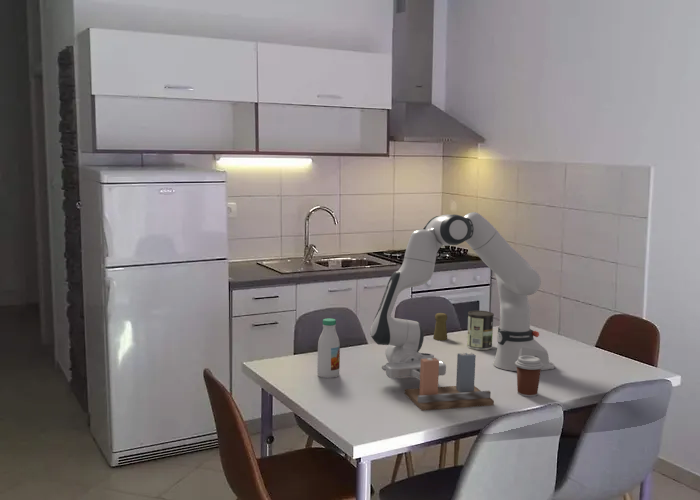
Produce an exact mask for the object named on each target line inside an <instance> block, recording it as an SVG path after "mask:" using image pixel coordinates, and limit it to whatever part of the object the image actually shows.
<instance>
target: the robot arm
mask: <svg viewBox="0 0 700 500" xmlns="http://www.w3.org/2000/svg"><path fill="white" fill-rule="evenodd" d="M464 242H466V244H467V245H468V246H469V248H471V249H472V250H473V252H475V254H476V255H477V256H478V258H479V259H480V260H482V262H483V263H484V264H485V265H486V266H487V267H488V268H489V269H490V270H491V271H492V272H493V273H494V276H495V277H494V278H495V279H496V282H497V284H496V285H497V291H498V300H499V326H498V327H497V329H498V330H497V347H496V353H495V357H494V360H493V362H492V365H493V366H494V367H496V368H498V369H501V370H506V371H512V372H513V371H514V372H517V367H516V366H515V362H516V361H517V360H518V358H519V357H520V356H534V357H538V358H539V359H540V362H541V363H542V364H543V368H542V369H541V371H547V370H554V369H555V366H556V365H555V364H554V362H553V361H550V359H549V353H548V351H547V349H546V348H545V347H544V346H543V345H542V344H541V343H539V342H538V341H537V340H536V339H535V338H538V337H539V336H540V332H539V331H537V330H533V329H531V313H532V310H531V309H532V307H531V306H530V303H529V298H528V296H530V295H534V294H535V293H536V292H538V291H539V290H540V287H541V283H542V279H541V276H540V274H539V272H537V270H536V269H534V267H533V266H532V265H531V264H530V263H529V262H528V261H527V260H526V259H525V257H523V256H522V255H520V253H519V252H518V251H516V249H515V248H513V247H512V246H511V244H510V243H509V242H508V241H507V240H506V239H505V238H504V237H503V235H501V233H500V232H499V231H498V230H497V229H496V227H494V225H493V224H492V223H490V221H489V220H487V219H486V218H485V217H484V216H482V214H480V213H478V212H476V211H475V212H474V211H472V212H469V213H466V214H465V215H464V216H463V215H459V214H450V213H449V214H448V213H447V214H442V215H436V216H434V217H432V218H430V219H429V220H428V221H427V223H426V224H425V226H424V227H423V228H421V229H417V230H414V231H413V232H412V233H411V235H410V236H409V239H408V242H407V245H406V248H405V252H404V258H403V261H402V264H401V266H400V267H399V269H398V270H395V271H394V272H393V273H392V274H391V276H390V277H389V280H388V282H387V284H386V288H385V290H384V293H383V296H382V299H381V302H380V304H379V308H378V309H377V312H376V315H375V317H374V319H373V320H372V323H371V326H370V330H369V331H370V333H369V334H370V337H371V338H372V340H373V341H374V343H375V344H377V345H378V346H386V348H385V353H384V355H385V359H386V360H387V362H386V363H385V364H384V365H382V366H381V369H382V371H385V375H386V377H387V378H389V379H407V378H408V379H411V378H416V379H418V380H420V367H421V359H427V358H436V359H438V360H439V376H445V375H446V373H447V365H446V363H445V362H444V361H442V360H441V359H439V358H437V357H435V354H432V353H423V352H420V350H421V349H422V347H423V343H424V340H425V339H424V338H425V334H424V330H423V327H422V325H421V324H420V323H419V322H418V321H416V320H411V319H407V318H404V319H402V318H397V317H392V313H393V310H394V307H395V304H396V302H397V299H398V296H399V294H400V293H402V292H403V291H405V290H406V289H407V290H408V289H410V288H411V289H412V288H415V287H420V286H421V285H422V286H423V285H424V284H426V283H427V282H429V281H430V280H431V279H432V277H433V274H434V271H435V266H436V260H437V255H438V251H439V250H440V248H441V247H445V246H447V247H449V246H457V245H460V244H463V243H464ZM534 337H535V338H534Z"/></svg>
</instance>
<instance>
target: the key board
mask: <svg viewBox="0 0 700 500" xmlns="http://www.w3.org/2000/svg"><path fill="white" fill-rule="evenodd" d="M404 395H405V396H407V398H408V399H409V400H410V401H412V403H414V404H415V405H416V406H417V408H419V410H421V411H422V412H424V411H435V410H448V409H461V408H472V407H474V408H475V407H490V406H494V405H495V404H494V403H495V401H494V399H493V398H491V391H490V390H481V389H479V388H478V387H476V386H475V385H474V391H468V392H459V391H458V390H457V389H456V385H449V386H447V385H446V386H438V394H433V395H420V387H417V388H405V389H404Z"/></svg>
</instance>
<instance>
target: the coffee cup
mask: <svg viewBox="0 0 700 500" xmlns="http://www.w3.org/2000/svg"><path fill="white" fill-rule="evenodd" d="M515 366H516V367H517V371H516V385H517V388H516V389H517V394H518V395H519V396H522V397H525V398H526V397H527V398H533V397H537V396H538V394H539V384H540V380H541V379H540V378H541V371H542V370H541V369H542V368H543V364H542V363H541V362H540V359H539V358H538V357H534V356H520V357H519V358H518V360H517V361H516V362H515Z"/></svg>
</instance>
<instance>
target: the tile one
mask: <svg viewBox="0 0 700 500" xmlns="http://www.w3.org/2000/svg"><path fill="white" fill-rule="evenodd" d="M436 358H437V357H434V358H427V359H421V367H420V379H419V388H420V395H433V394H438V387H439V360H440V359H439V358H437V359H436ZM438 359H439V360H438Z"/></svg>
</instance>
